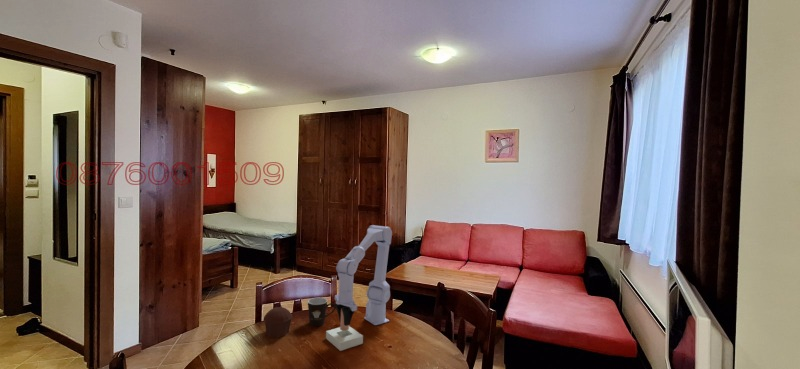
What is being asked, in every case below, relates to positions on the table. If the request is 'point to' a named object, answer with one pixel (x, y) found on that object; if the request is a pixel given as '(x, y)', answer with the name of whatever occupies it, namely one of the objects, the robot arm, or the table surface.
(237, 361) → the table surface
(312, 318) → the coffee mug
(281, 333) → the muffin
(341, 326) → the dowel
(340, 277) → the robot arm
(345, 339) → the socket block
